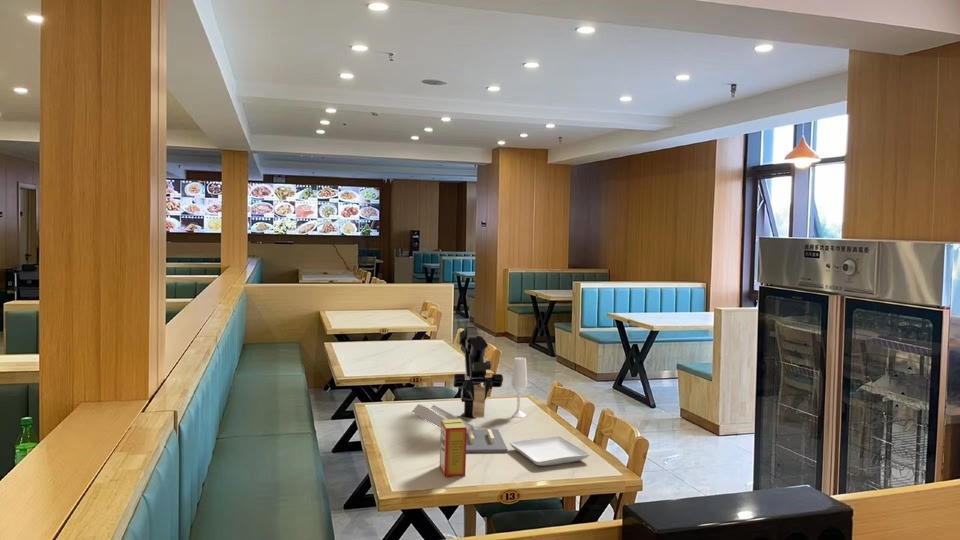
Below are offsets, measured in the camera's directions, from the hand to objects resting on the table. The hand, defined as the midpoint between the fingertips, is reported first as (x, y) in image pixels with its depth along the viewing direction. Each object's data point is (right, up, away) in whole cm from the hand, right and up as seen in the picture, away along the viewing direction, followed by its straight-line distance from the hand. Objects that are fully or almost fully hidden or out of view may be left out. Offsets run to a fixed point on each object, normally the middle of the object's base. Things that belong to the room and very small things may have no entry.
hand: (479, 400), depth 242 cm
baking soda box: (-9, -16, -35) cm, 40 cm away
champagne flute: (+16, -12, +29) cm, 35 cm away
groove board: (+1, -14, -7) cm, 16 cm away
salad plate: (+24, -16, -19) cm, 34 cm away
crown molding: (-15, -13, +18) cm, 27 cm away
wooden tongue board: (0, -6, +2) cm, 7 cm away
